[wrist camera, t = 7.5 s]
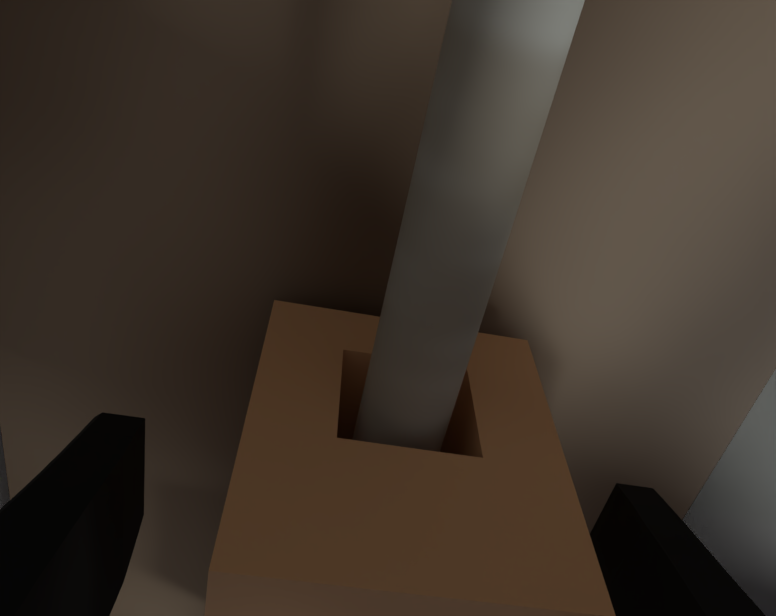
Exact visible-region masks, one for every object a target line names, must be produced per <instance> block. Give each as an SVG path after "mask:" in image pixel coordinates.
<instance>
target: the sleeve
mask: <svg viewBox="0 0 776 616" xmlns="http://www.w3.org/2000/svg"><path fill="white" fill-rule="evenodd" d="M379 320H380V317H378V316H372V315H366V314H360V313H353V312H347V311H341V310H334V309H328V308H322V307H315V306H309V305H303V304H297V303H290V302H284V301H278V300H274V303H273V307H272V311H271V316H270V320H269V324H268V328H267V332H266V336H265V340H264V344H263V348H262V353H261V357H260V361H259V365H258V369H257V373H256V377H255V381H254V386H253V390H252V394H251V398H250V402H249V406H248V410H247V414H246V418H245V423H244V427H243V431H242V435H241V439H240V443H239V447H238V451H237V455H236V460H235V464H234V468H233V472H232V476H231V480H230V484H229V488H228V493H227V497H226V501H225V505H224V509H223V513H222V517H221V521H220V525H219V530H218V534H217V538H216V542H215V546H214V550H213V554H212V558H211V562H210V567H209V571H208V581H207V592H206V603H205V614H204V616H616V615H615V612H614V609H613V606H612V603H611V600H610V596H609V593H608V590H607V587H606V584H605V581H604V578H603V575H602V571H601V568H600V565H599V562H598V559H597V556H596V553H595V550H594V546H593V543H592V540H591V537H590V534H589V531H588V528H587V525H586V521H585V518H584V515H583V512H582V509H581V506H580V503H579V499H578V496H577V493H576V490H575V487H574V484H573V481H572V478H571V474H570V471H569V468H568V465H567V462H566V459H565V456H564V453H563V449H562V446H561V443H560V440H559V437H558V434H557V431H556V428H555V424H554V421H553V418H552V415H551V412H550V409H549V406H548V403H547V399H546V396H545V393H544V390H543V387H542V384H541V381H540V378H539V374H538V371H537V368H536V365H535V362H534V359H533V356H532V353H531V349H530V346H529V343H528V340H523V339H517V338H511V337H504V336H498V335H492V334H485V333H479V332H478V334H477V338H476V341H475V344H474V347H473V350H472V353H471V356H470V359H469V362H468V366H467V369H466V372H465V375H464V378H463V381H462V384H461V387H460V390H459V394H458V397H457V400H456V403H455V406H454V409H453V412H452V415H451V418H450V422H449V425H448V428H447V431H446V434H445V437H444V440H443V443H442V446H441V450H440V452H437V451H429V450H422V449H415V448H408V447H400V446H393V445H386V444H379V443H371V442H364V441H357V440H352V438H353V434H354V430H355V425H356V421H357V416H358V412H359V408H360V403H361V399H362V394H363V390H364V386H365V381H366V377H367V372H368V368H369V364H370V359H371V355H372V350H373V346H374V342H375V337H376V333H377V328H378V324H379Z"/></svg>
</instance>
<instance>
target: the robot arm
mask: <svg viewBox="0 0 776 616" xmlns="http://www.w3.org/2000/svg"><path fill="white" fill-rule="evenodd" d="M144 475H145V418H140V417H133V416H126V415H118V414H111V413H104V412H102V413H100V414H99V415H97V416H95V417H94V418H93V419H92V420H91V421H90V422H89V423H88V424H87V425H86V426H85V428H84V429H83V430H82V431H81V432H80V433H79V434H78V435H77V436H76V437H75V438H74V439H73V440H72V441H71V442H70V443H69V444H68V445H67V446H66V447H65V448H64V449H63V450H62V451H61V452H60V453H59V454H58V455H57V456H56V457H55V458H54V459H53V460H52V461H51V462H50V463H49V464H48V465H47V466H46V467H45V468H44V469H43V470H42V471H41V472H40V473H39V474H38V475H37V476H36V477H35V478H33V479H32V480H31V481H30V482H29V483H28V484H27V485H26V486H25V487H24V488H23V489H22V490H21V491H20V492H18V493H17V494H16V495H15V496H14V497H13V498H12V499H11V500H10V501H9V502H8V503H6V504H5V505H4V506H3V507H2V508H1V509H0V616H110V614H111V611H112V609H113V606H114V604H115V602H116V599H117V597H118V594H119V592H120V590H121V587H122V585H123V582H124V579H125V576H126V573H127V570H128V566H129V563H130V560H131V557H132V553H133V550H134V547H135V543H136V540H137V537H138V533H139V530H140V526H141V523H142V520H143V516H144ZM590 537H591V540H592V543H593V546H594V550H595V553H596V556H597V559H598V562H599V565H600V568H601V571H602V575H603V578H604V581H605V584H606V587H607V590H608V593H609V596H610V600H611V603H612V606H613V609H614V612H615V615H616V616H765V615H764V613H763V612H762V611H761V610H760V609H759V608H758V607H757V606H756V605H755V603H754V602H753V601H752V600H751V599H750V598H749V597H748V596H747V594H746V593H745V592H744V591H743V590H742V589H741V588H740V587H739V585H738V584H737V583H736V582H735V581H734V580H733V579H732V577H731V576H730V575H729V574H728V573H727V572H726V571H725V569H724V568H723V567H722V566H721V565H720V564H719V562H718V561H717V560H716V559H715V558H714V557H713V556H712V554H711V553H710V552H709V551H708V550H707V549H706V547H705V546H704V545H703V544H702V543H701V542H700V540H699V539H698V538H697V537H696V536H695V535H694V533H693V532H692V531H691V530H690V529H689V528H688V527H687V525H686V524H685V523H684V522H683V521H682V520H681V518H680V517H679V516H678V515H677V514H676V513H675V512H674V510H673V509H672V508H671V507H670V506H669V505H668V504H667V503H666V502H665V500H664V499H663V498H662V497H661V496H660V495H659V494H658V493H657V492H656V491H655V490H654V489H653V488H648V487H641V486H634V485H627V484H619V483H616V485H615V487H614V488H613V490H612V492H611V494H610V496H609V498H608V500H607V502H606V504H605V506H604V508H603V510H602V511H601V513H600V515H599V517H598V519H597V521H596V523H595V525H594V527H593V529H592V531H591V533H590Z"/></svg>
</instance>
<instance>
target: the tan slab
mask: <svg viewBox="0 0 776 616" xmlns="http://www.w3.org/2000/svg"><path fill="white" fill-rule="evenodd" d="M274 300H278V301H284V302H290V303H297V304H303V305H309V306H315V307H322V308H328V309H334V310H341V311H347V312H353V313H360V314H366V315H372V316H378V317H380V320H379V324H378V328H377V333H376V337H375V342H374V346H373V350H372V355H371V359H370V364H369V368H368V372H367V377H366V381H365V386H364V390H363V394H362V399H361V403H360V408H359V412H358V416H357V421H356V425H355V430H354V434H353V438H352V440H357V441H364V442H371V443H379V444H386V445H393V446H400V447H408V448H415V449H422V450H429V451H437V452H440V450H441V446H442V443H443V440H444V437H445V434H446V431H447V428H448V425H449V422H450V418H451V415H452V412H453V409H454V406H455V403H456V400H457V397H458V394H459V390H460V387H461V384H462V381H463V378H464V375H465V372H466V369H467V366H468V362H469V359H470V356H471V353H472V350H473V347H474V344H475V341H476V338H477V334H478V332H479V333H485V334H492V335H498V336H504V337H511V338H517V339H523V340H528V343H529V346H530V349H531V353H532V356H533V359H534V362H535V365H536V368H537V371H538V374H539V378H540V381H541V384H542V387H543V390H544V393H545V396H546V399H547V403H548V406H549V409H550V412H551V415H552V418H553V421H554V424H555V428H556V431H557V434H558V437H559V440H560V443H561V446H562V449H563V453H564V456H565V459H566V462H567V465H568V468H569V471H570V474H571V478H572V481H573V484H574V487H575V490H576V493H577V496H578V499H579V503H580V506H581V509H582V512H583V515H584V518H585V521H586V525H587V528H588V531H589V534H590V533H591V531H592V529H593V527H594V525H595V523H596V521H597V519H598V517H599V515H600V513H601V511H602V510H603V508H604V506H605V504H606V502H607V500H608V498H609V496H610V494H611V492H612V490H613V488H614V487H615V485H616V483H619V484H627V485H634V486H641V487H648V488H653V489H654V490H655V491H656V492H657V493H658V494H659V495H660V496H661V497H662V498H663V499H664V500H665V502H666V503H667V504H668V505H669V506H670V507H671V508H672V509H673V510H674V512H675V513H676V514H677V515H678V516H679V517H680V518H681V520H683V518H684V516H685V515H686V513H687V512H688V510H689V508H690V507H691V505H692V503H693V502H694V500H695V499H696V497H697V495H698V494H699V492H700V490H701V489H702V487H703V486H704V484H705V482H706V481H707V479H708V478H709V476H710V474H711V473H712V471H713V469H714V468H715V466H716V465H717V463H718V461H719V460H720V458H721V456H722V455H723V453H724V452H725V450H726V448H727V447H728V445H729V444H730V442H731V440H732V439H733V437H734V435H735V434H736V432H737V431H738V429H739V427H740V426H741V424H742V422H743V421H744V419H745V418H746V416H747V414H748V413H749V411H750V409H751V408H752V406H753V405H754V403H755V401H756V400H757V398H758V397H759V395H760V393H761V392H762V390H763V388H764V387H765V385H766V384H767V382H768V380H769V379H770V377H771V375H772V374H773V372H774V371H775V369H776V0H0V427H1V435H2V442H3V450H4V457H5V465H6V472H7V480H8V488H9V495H10V500H11V499H12V498H13V497H14V496H15V495H16V494H17V493H18V492H20V491H21V490H22V489H23V488H24V487H25V486H26V485H27V484H28V483H29V482H30V481H31V480H32V479H33V478H35V477H36V476H37V475H38V474H39V473H40V472H41V471H42V470H43V469H44V468H45V467H46V466H47V465H48V464H49V463H50V462H51V461H52V460H53V459H54V458H55V457H56V456H57V455H58V454H59V453H60V452H61V451H62V450H63V449H64V448H65V447H66V446H67V445H68V444H69V443H70V442H71V441H72V440H73V439H74V438H75V437H76V436H77V435H78V434H79V433H80V432H81V431H82V430H83V429H84V428H85V426H86V425H87V424H88V423H89V422H90V421H91V420H92V419H93V418H94V417H95V416H97V415H99V414H100V413H102V412H104V413H111V414H118V415H126V416H133V417H140V418H145V475H144V516H143V520H142V523H141V526H140V530H139V533H138V537H137V540H136V543H135V547H134V550H133V553H132V557H131V560H130V563H129V566H128V570H127V573H126V576H125V579H124V582H123V585H122V587H121V590H120V592H119V594H118V597H117V599H116V602H115V604H114V606H113V609H112V611H111V614H110V616H204V614H205V603H206V592H207V581H208V571H209V567H210V562H211V558H212V554H213V550H214V546H215V542H216V538H217V534H218V530H219V525H220V521H221V517H222V513H223V509H224V505H225V501H226V497H227V493H228V488H229V484H230V480H231V476H232V472H233V468H234V464H235V460H236V455H237V451H238V447H239V443H240V439H241V435H242V431H243V427H244V423H245V418H246V414H247V410H248V406H249V402H250V398H251V394H252V390H253V386H254V381H255V377H256V373H257V369H258V365H259V361H260V357H261V353H262V348H263V344H264V340H265V336H266V332H267V328H268V324H269V320H270V316H271V311H272V307H273V303H274Z"/></svg>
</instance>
